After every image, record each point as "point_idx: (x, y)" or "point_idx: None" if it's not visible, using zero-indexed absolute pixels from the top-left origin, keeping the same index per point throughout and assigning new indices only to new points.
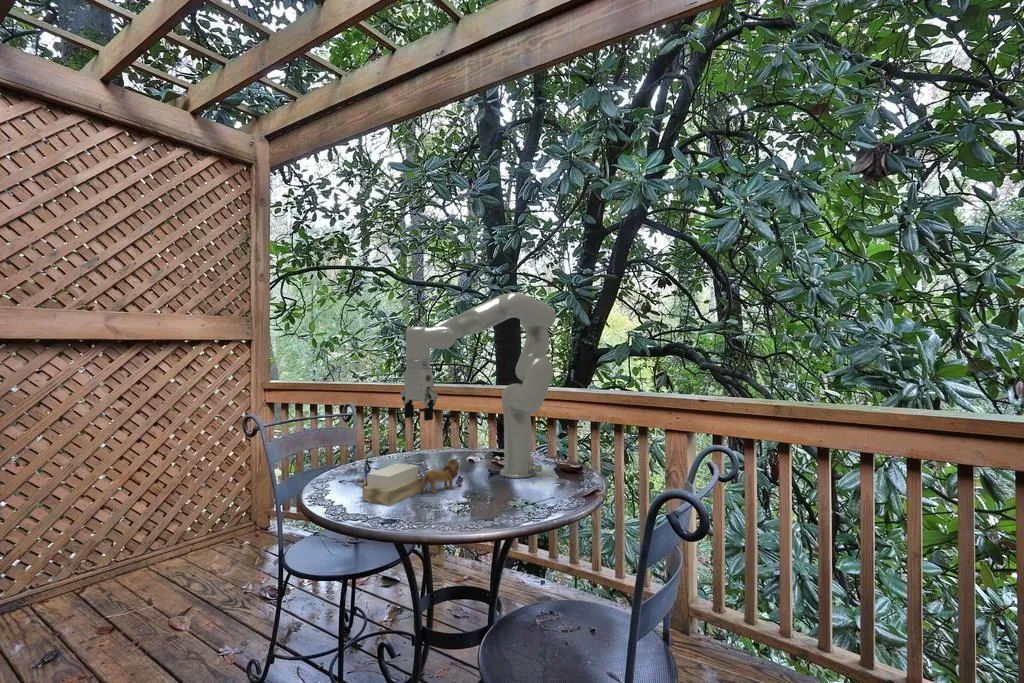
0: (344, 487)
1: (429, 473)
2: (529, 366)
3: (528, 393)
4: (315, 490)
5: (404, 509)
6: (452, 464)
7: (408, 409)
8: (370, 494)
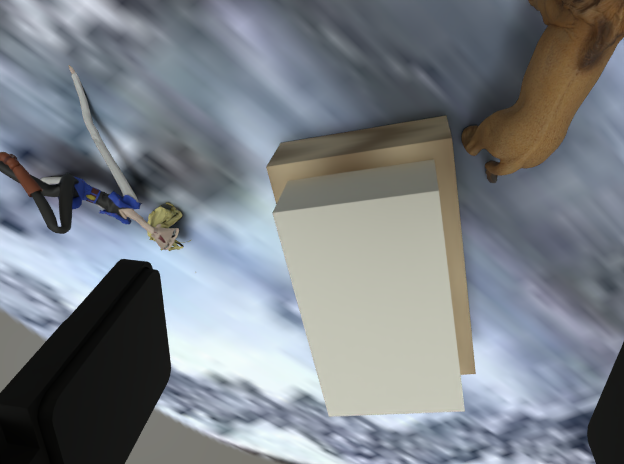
0: (108, 268)
1: (534, 164)
2: None
3: None
4: None
5: (557, 335)
6: None
7: (112, 441)
8: None
